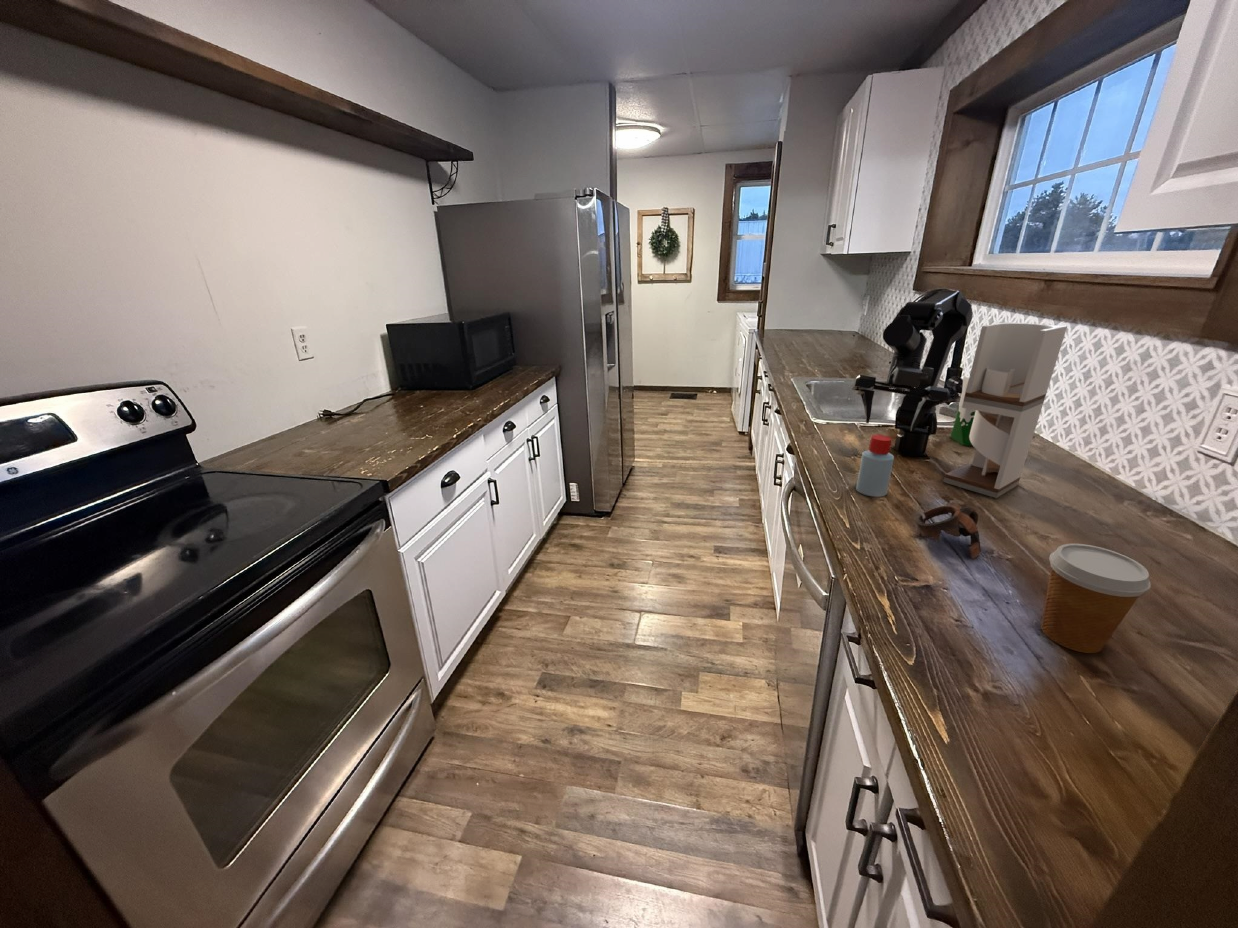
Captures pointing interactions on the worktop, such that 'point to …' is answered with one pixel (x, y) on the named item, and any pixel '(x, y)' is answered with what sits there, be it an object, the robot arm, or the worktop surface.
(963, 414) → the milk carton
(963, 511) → the pottery mug
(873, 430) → the worktop surface
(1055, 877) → the worktop surface
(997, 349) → the white tower frame
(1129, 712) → the worktop surface
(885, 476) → the bottle
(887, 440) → the cap
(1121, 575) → the disposable coffee cup
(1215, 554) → the worktop surface
